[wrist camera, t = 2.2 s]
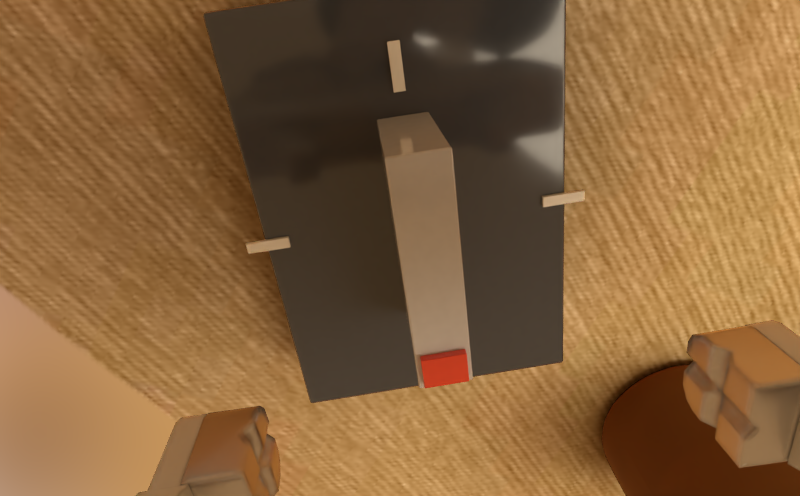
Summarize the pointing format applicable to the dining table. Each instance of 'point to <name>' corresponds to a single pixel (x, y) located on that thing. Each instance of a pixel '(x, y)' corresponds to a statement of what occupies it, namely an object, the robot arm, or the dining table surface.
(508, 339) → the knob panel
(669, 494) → the mug
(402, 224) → the beige slab red square
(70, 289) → the dining table surface
